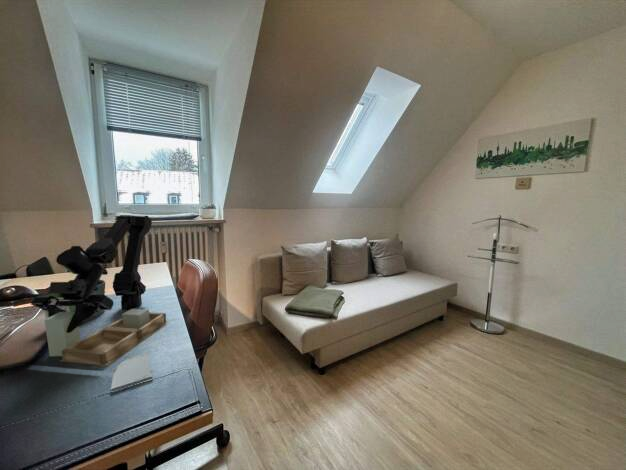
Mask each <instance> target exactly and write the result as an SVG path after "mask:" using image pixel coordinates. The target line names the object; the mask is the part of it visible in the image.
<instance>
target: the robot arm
mask: <svg viewBox="0 0 626 470" xmlns="http://www.w3.org/2000/svg"><path fill="white" fill-rule="evenodd" d="M152 224H153V220H152V218H150V217H149V215H142V214H141V215H131V214H120V215H118V216H117V217H116V220H115V222H114V223H113V225H112V226H111V227H110V228H109V229H108V231H107V232H106V233H105V235H103V237H102V238H101V239H100V240H97V241H95V242H93V243H92V244H90V245H89V246H88V247H87V248H86V249H85V250H84V249H83V247H82V246H81V245H72V246H71V247H70V248H69V249H66V250H64V251H63V252H61V253H60V254H58V255H57V257H56V259H55V260H56V264H58V265H60V266H61V267H63V268H64V269H65V270H66V271H68V272H70V273H71V274H74V275H75V277H74V279H70V280H68V281H51V282H50V284H49V287H48V291H47V295H38V296H34V298H33V299H32V301H31V302H30V305H32V307H35V308H37V309H39V310H42V311H44V312H45V311H48V318H49V317H51V316H53V315H55V314H57V313H59V312H67V311H65V310H63V309H64V306H76V312H75V314H74V316H73V318H72V320H71V322H70V324H69V326H68V328H67V331H66V332H67V333H71V332H72V331H73V330H74V329H75V328H76V327H79V326H80V325H81V324H82V323H84V322H85V321H86V320H87V319H89V318H91V317H90V316H91V315H93V314H94V313H98V310H97V309H98V307H99V308H100V310H105V311H111V310H112V309H113V306H114V300H113V299H111V298H110V297H108V296H107V295H106V294H104V295H92V293H93V291H97V290H98V287H96V285H97V283H98V281H99V280H101V277H102V275H105V276H107V275H108V270H107V269H106V268H107V267H106V266H102V265H101V264H103V265H104V264H105V265H106V264H112V263H113V262H114V261H115V258H116V257H117V255H118V252H119V251H118V246H119V244H120V242H121V241H122V240H123V238H124V237H125V236H126V234H127V233H128V234H129V236H128V240H127V245H126V251H125V255H124V260H123V264H122V265H123V266H122V269H121V270H120V271H119V272H115V274H114V277H113V280H112V281H113V282H112V289H113V293H114V294H115V295H116V296H115V297H119V296H120V298H121V299H120V303H121V304H120V306H121V311H129V310H131V309H138V308H139V307H140V306H141V305H142V304H143V302H142V295H144V294H145V292H146V289H147V286H146V285H145V284H144V283H143V282H141V281H142V277H141V275H140V273H139V270H138V269H139V265H140V264H139V263H140V258H141V254H142V248H143V241H144V237H146V235H147V234H148V233H149V232H150V229H151V227H152ZM52 293H54V294H59V295H58V296H59V297H63V298H64V299H58V298H56V297H54V296H52V295H51V294H52Z"/></svg>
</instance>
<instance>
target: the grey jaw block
mask: <svg viewBox="0 0 626 470" xmlns="http://www.w3.org/2000/svg"><path fill="white" fill-rule="evenodd" d="M149 312H150V311H149V309H144V308H134V309H130V310H126V312H124V313H122V318H123V325H124V328H133V329H139V328H141V327H142V326H144V325H145V324H147V323H149V322H150V320H149Z"/></svg>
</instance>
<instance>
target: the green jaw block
mask: <svg viewBox="0 0 626 470" xmlns="http://www.w3.org/2000/svg"><path fill="white" fill-rule="evenodd" d="M74 314H75V312H59V313H57V314H55V315H53V316H51V317H49V318H47V319H46V318H44V327H45V332H46V339H47V345H48V346H47V347H48V353H49V357H62V350H64V349H66V348H68V347H70V346H71V345H73V344H75V343H77V342H79V341H81V337H80V327H79V326H78V327H76V328H75V329H74V330H73V331H72V332H71V333H67V332H66V331H67V328H68V326H69V324H70V322H71V320H72V318H73V316H74Z"/></svg>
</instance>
